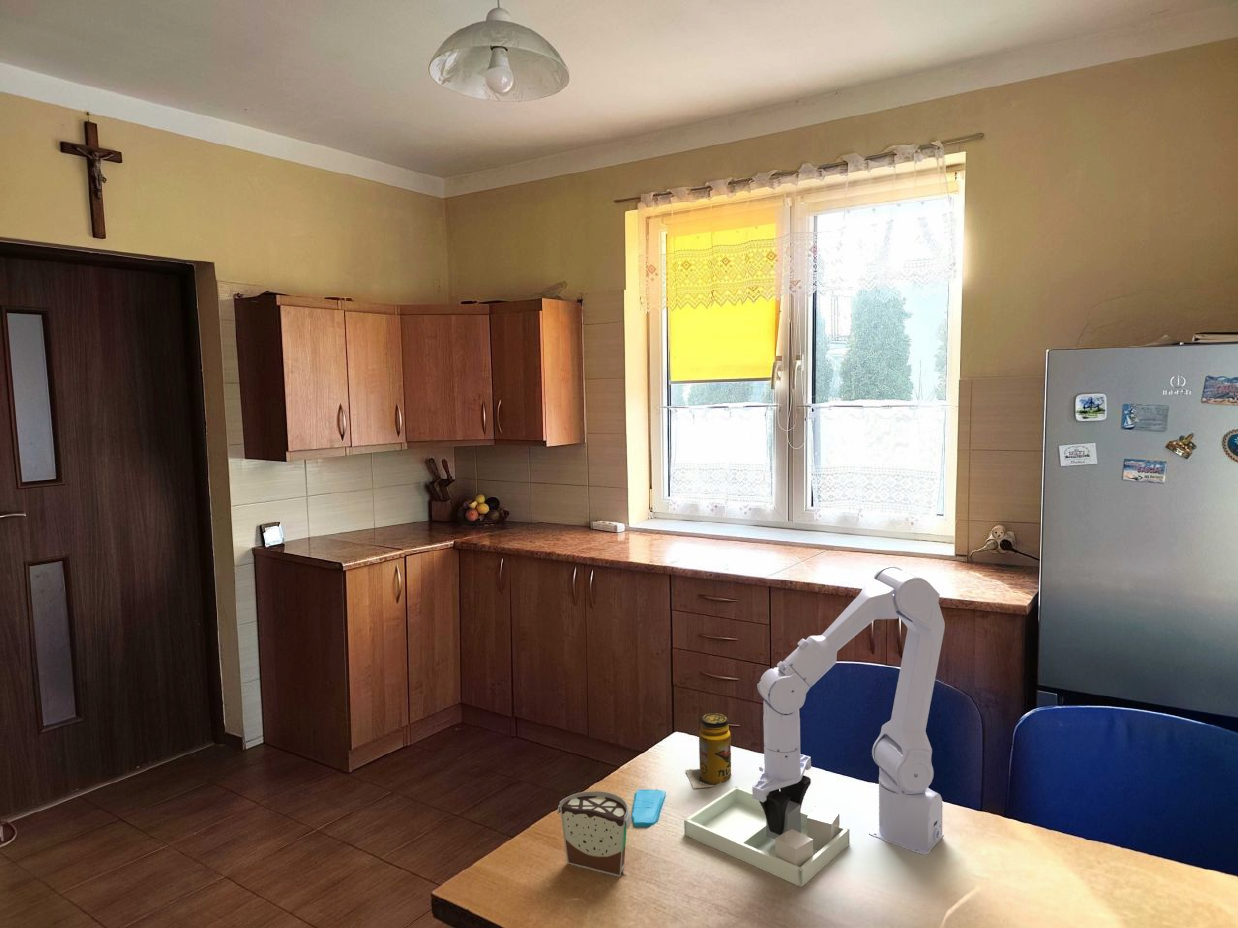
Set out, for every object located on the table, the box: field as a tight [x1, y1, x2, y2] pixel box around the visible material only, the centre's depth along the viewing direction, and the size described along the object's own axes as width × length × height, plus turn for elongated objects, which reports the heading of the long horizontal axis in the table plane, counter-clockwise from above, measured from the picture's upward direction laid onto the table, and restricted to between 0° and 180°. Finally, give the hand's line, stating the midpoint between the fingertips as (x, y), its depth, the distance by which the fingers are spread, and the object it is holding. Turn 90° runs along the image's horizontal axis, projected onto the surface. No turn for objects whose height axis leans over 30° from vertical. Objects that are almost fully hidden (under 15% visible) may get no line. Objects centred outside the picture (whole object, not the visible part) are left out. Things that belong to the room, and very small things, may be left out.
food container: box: [557, 790, 632, 878], centre depth 126 cm, size 12×6×10 cm, turn 65°
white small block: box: [807, 806, 840, 851], centre depth 128 cm, size 4×4×5 cm
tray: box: [683, 786, 850, 888], centre depth 130 cm, size 22×15×3 cm
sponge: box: [630, 788, 667, 828], centre depth 142 cm, size 2×12×6 cm
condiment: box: [684, 712, 733, 790], centre depth 152 cm, size 7×8×12 cm
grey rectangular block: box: [766, 801, 802, 839], centre depth 128 cm, size 4×4×5 cm
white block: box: [775, 829, 813, 867], centre depth 121 cm, size 4×4×5 cm
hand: (783, 826), depth 128 cm, fingers closed on grey rectangular block, 4 cm apart
